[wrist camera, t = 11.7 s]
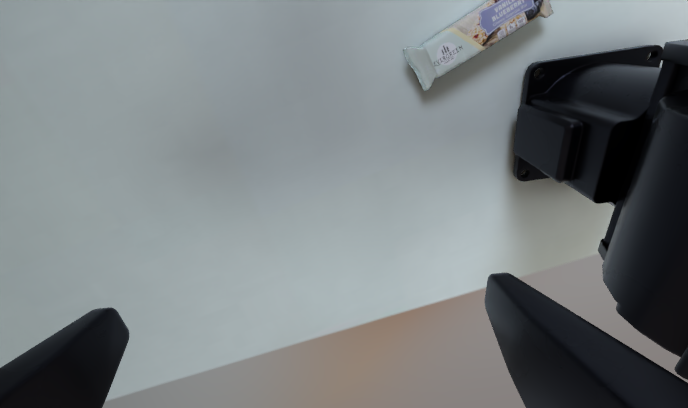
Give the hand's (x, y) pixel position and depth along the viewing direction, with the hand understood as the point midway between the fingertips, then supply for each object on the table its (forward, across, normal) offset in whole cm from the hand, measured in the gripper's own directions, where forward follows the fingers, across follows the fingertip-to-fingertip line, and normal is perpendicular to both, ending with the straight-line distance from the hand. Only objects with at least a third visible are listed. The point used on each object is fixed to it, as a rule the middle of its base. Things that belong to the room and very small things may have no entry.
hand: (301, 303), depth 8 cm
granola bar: (+12, -8, -5) cm, 15 cm away
